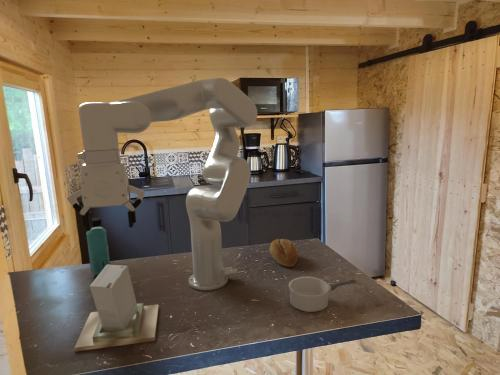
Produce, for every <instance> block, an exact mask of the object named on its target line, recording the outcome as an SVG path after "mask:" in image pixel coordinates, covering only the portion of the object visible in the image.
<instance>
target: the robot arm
mask: <svg viewBox="0 0 500 375" xmlns="http://www.w3.org/2000/svg"><path fill="white" fill-rule="evenodd" d="M206 110H209V113H208V114H209V120H210V123H211V124H212V127H213V132H214V141H213V144H212V146H211V149H210V150H209V154H208V156H207V158H206V161H205V163H204V166H203V169H202V177H203V180H204V181H205V182H206V183H208V184H210V185H213V186H214V187H213V186H207V185H197V186H195V187H192V188H191V189H190V190H189V191H188V193H187V194H186V197H185V207H186V211H187V216H188V219H189V227H190V242H191V258H192V274H191V275H190V276H189V278H188V285H189V286H190V287H191V288H192V289H195V290H199V291H213V290H214V291H215V290H216V289H219V288H222V287H224V286H225V285H226V284H227V283H228V280H229V279H228V278H229V277H230V276H237V275H238V269H237V268H233V267H232V266H228V267H226V266H224V263H223V250H222V249H223V247H222V246H223V244H222V228H221V224H220V222H223V223H224V222H226V223H227V222H230V221H232V220H233V219H235V217H236V216H237V214H238V212H239V210H240V208H241V205H242V203H243V200H244V197H245V195H246V192H247V189H248V186H249V184H250V181H251V176H252V175H251V172H252V171H251V166H250V164H249V163H248V161H247V160H246V159H245V158H243V157H240V156H238V154H239V151H240V147H241V146H240V145H241V142H240V138H239V136H238V133H237V131H236V129H235V128H248V127H251V126H253V125H254V124H255V123H256V121H257V119H258V108H257V106H256V104H255V103H254V101H253V100H252V99H251V98H250V97H249V96H248V95H247V94H245V93H244V92H243V91H242V90H241V89H240V88H239V87H238V86H237V85H235V84H234V83H232V82H231V81H230V80H228V79H226V78H224V77H215V78H205V79H198V80H195V81H191V82H187V83H184V84H179V85H176V86H175V85H174V86H171V87H167V88H163V89H160V90H156V91H152V92H148V93H145V94H141V95H136V96H131V97H127V98H125V99H119V100H116V101H112V102H106V101H105V102H101V101H100V102H99V101H98V102H95V101H94V102H92V101H91V102H83V103H81V104H80V105H79V107H78V116H79V117H78V118H79V123H80V129H81V130H80V132H81V133H80V134H81V139H82V145H83V146H82V148H83V150H82V152H80V153H77V159H78V160H83V162H84V163H83V164H81V168H80V187H81V188H80V189H79V190H77V191H75V192H73V193H72V194H70V195H68V196H67V198H66V200H67V201H68V203H69V204H70V205H71V207H72V208H73V209H74V210H75V211H77V212H78V213H79V214H80V215H82V216H81V217H82V223H83V227H84V228H86V232H87V231H90V230H91V229H92V228H94V227H93V223H92V218H93V216H92V212H91V211H90V209H91V208H94V209H95V208H106V207H118V206H119V207H120V206H125V207H126V208H127V209H128V211H127V218H128V227H129V228H133V227H134V225H135V224H136V223H137V215H136V209H137V208H138V207H139V206H140V205H141V204H142V202H143V199H144V197H145V194H146V191H145V190H143V189H141V188H139V187H135V186H133V185H131V184H129V178H128V174H127V170H126V166H125V163H124V161H121V156H120V146H119V138H118V136H119V134H139V133H142V132H145V131H146V130H147V129H149V127H150V126H151V124H152V123H157V122H170V121H176V120H180V119H182V118H185V117H188V116H192V115H195V114H197V113H200V112H203V111H206ZM215 186H219V188H217V187H215ZM220 187H221V188H220ZM131 193H132V194H135V195H137V197H136V199H135V201H134V202H133V200H132V199H131ZM80 197H81V201H82V204H81V202H79V201H78V198H80ZM228 276H229V277H228Z"/></svg>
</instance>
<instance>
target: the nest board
mask: <svg viewBox="0 0 500 375" xmlns="http://www.w3.org/2000/svg"><path fill="white" fill-rule="evenodd" d="M137 306H138V310H137V311H136V313H135V315H134V317H133V319H132V320H131V322H130V324H129V325H128V327H127V329H126V330H121V331H104V330H103V328H102V324H101V321H100V318H99V315H98V312H97V311H92V312H90V313H89V314H88V317H87V319H86V322H85V324H84V326H83V329H82V331H81V332H80V335H79V337H78V339H77V342H76V344H75V346H74V348H73V349H74V350H73V351H74V352H82V351H89V350H96V349H97V350H98V349H104V348H112V347H118V346H126V345H133V344H140V343H146V342H147V343H148V342H154V341H156V333H157V324H158V317H159V310H160V306H159V304H150V305H145V304H144V302H141V303H137Z"/></svg>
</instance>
